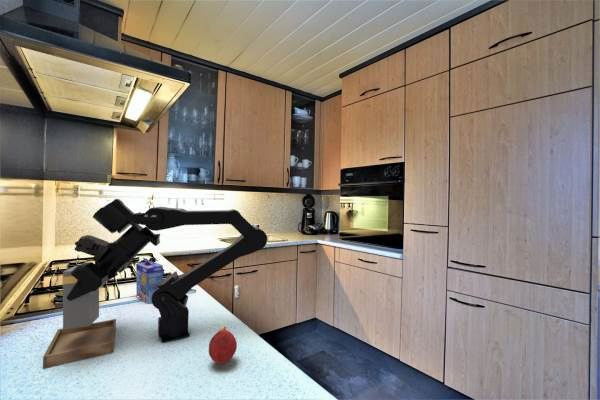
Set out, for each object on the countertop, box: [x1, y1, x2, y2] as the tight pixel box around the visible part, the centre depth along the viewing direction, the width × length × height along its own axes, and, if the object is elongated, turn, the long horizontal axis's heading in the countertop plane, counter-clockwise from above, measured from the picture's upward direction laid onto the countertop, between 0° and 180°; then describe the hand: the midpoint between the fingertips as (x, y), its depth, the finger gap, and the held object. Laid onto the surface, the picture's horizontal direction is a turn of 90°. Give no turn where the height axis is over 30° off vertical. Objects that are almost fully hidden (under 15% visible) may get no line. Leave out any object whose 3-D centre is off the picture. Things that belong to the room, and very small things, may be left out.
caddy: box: [62, 265, 100, 329], centre depth 66 cm, size 5×6×13 cm
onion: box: [208, 325, 238, 366], centre depth 59 cm, size 6×6×8 cm
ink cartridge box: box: [135, 257, 164, 305], centre depth 97 cm, size 10×6×14 cm, turn 51°
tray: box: [42, 318, 117, 369], centre depth 66 cm, size 12×14×2 cm
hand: (75, 295), depth 66 cm, fingers closed on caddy, 5 cm apart
